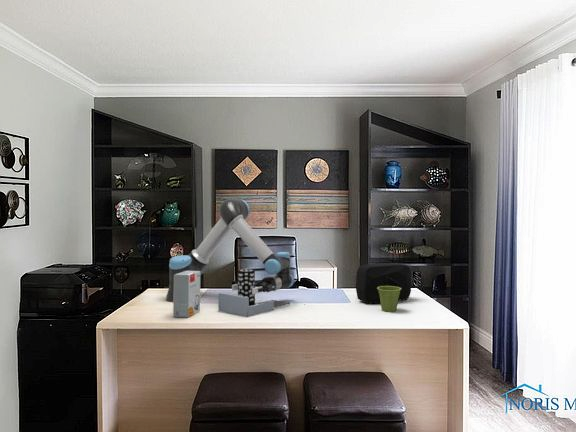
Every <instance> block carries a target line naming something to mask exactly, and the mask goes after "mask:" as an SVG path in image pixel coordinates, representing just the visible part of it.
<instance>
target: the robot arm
mask: <svg viewBox="0 0 576 432" xmlns="http://www.w3.org/2000/svg"><path fill="white" fill-rule="evenodd" d="M250 209H251V208H250V206H249V204H248V202H246V200H244V199H241V198H240V199H239V198H238V199H237V198H236V199H234V198H233V199H231V198H230V199H225V200H224V201H222V202H221V203H220V206H219V207H218V213H219V217H220V219H219V220H218V221H217V222H216V223H215V224H214V226H213V227H212V229H210V232H209V233H208V234H207V236H206V237H205V238H204V239H203V240H202V242H201V243H200V244H199V245H198V247H197V248H195V249H192V250H191V251H190V253H189V254H188V255H187V254H186V255H175V256H173V257H171V258H170V259H169V264H168V267H169V286H168V289H167V293H166V296H165V300H166V301H168V302H172V303H173V296H174V275H175V274H178V273H181V272H184V271H200V276H202V275H203V274H204V273H205V272H206V270H207V269H208V264H210V263H209V262H210V257H212V255H213V254H214V252H215V251H216V250H217V249H218V247H219V246H220V245H221V243H222V242H223V241H224V240H225V239H226V237H227V236H228V234H229V233H231V230H233V231H234V232H235V233H236V235H237V236H238V237H239V238H241V240H242V242H244V244H245V245H246V246H247V247H248V248H249V249H250V250H251V252H252V253H253V254H254V255H255V256H256V257H257V258H258V259H259V261H260V262H261V263H262V264H263V265H264V266H263V267H264V270H265V271H266V273H267V274H269V275H273V276H266V277H264V278H263V279H261V281H260V280H259V281H256V280H255V288H252V294H255V295H256V294H260V293H265V292H266V293H270V292H276V291H279V290H283V289H288V288H291V287H292V286H293V285H294V283H295V278H294V276H293V275H292V274H291V254H290V252H288V251H280V252H279V251H278V252H276V254H275V253H274V252H273V251H272V250H271V249H270V247H269V246H268V245H267V244H266V243H265V242H264V240H263V239H262V238H261V237H260V236H259V235H258V234H257V233H256V231H255V230H253V228H252V227H251V226H250V224H249V223H247V221H246V220H247V218H248V217H249V216H250ZM231 291H232V292H233V291H238V283H235V284H232V285H231Z"/></svg>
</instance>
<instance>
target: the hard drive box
mask: <svg viewBox="0 0 576 432" xmlns="http://www.w3.org/2000/svg"><path fill="white" fill-rule="evenodd" d="M172 304H173V306H172V307H173V308H172V309H173V311H172V312H173V313H172V316H173V318H175V317H176V318H190V317H192V316H193V315H195V314H197V313H199V312H201V275H200V271H184V272H181V273H178V274H175V275H174V296H173V302H172Z"/></svg>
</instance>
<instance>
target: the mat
mask: <svg viewBox="0 0 576 432" xmlns="http://www.w3.org/2000/svg"><path fill="white" fill-rule="evenodd" d="M269 301H274V307H275V308H278V306H279V307H282V305H283V306H286V304H287V305H290V302H288V301H283V300H277V299H270V300H269V299H268V300H266V301H261V302H257V304H261V303H265V302H269Z"/></svg>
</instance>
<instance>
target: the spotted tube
mask: <svg viewBox="0 0 576 432" xmlns="http://www.w3.org/2000/svg"><path fill="white" fill-rule="evenodd" d="M255 278H256V270H255V269H251V268H250V269H249V268H245V269H244V268H243V269H242V268H241V269H238V270H237V284H238V290H237V296H243V297H249V306H252V305H256V304H255V303H256V302H255V301H256V300H255V299H256V297H255V295H256V294H252V288H255V287H256V286H255V281H256V279H255Z"/></svg>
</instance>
